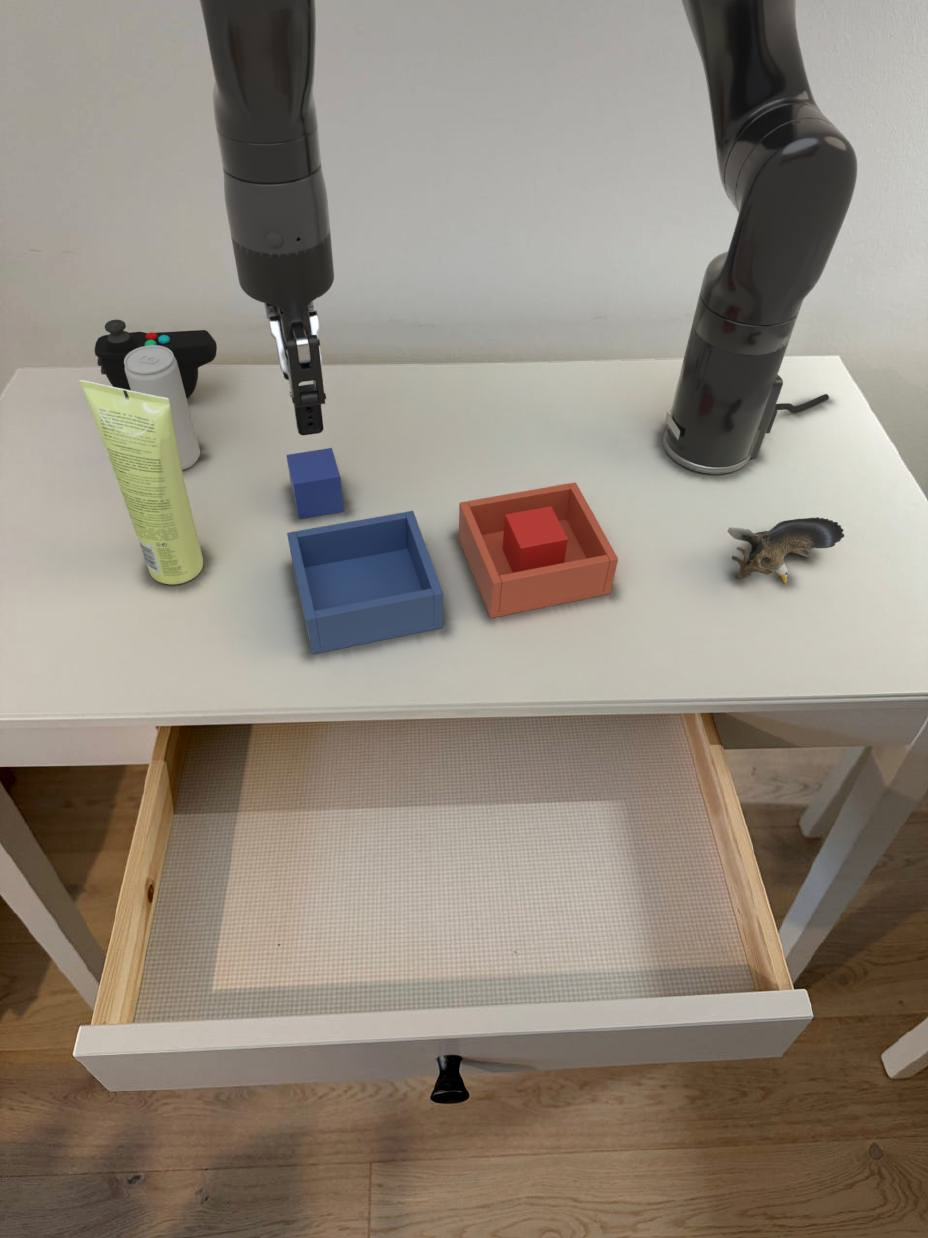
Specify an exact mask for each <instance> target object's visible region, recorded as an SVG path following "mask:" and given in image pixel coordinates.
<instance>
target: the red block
mask: <svg viewBox="0 0 928 1238" xmlns="http://www.w3.org/2000/svg"><path fill="white" fill-rule="evenodd" d="M567 542H568V538H567V536H566V534H565V532H564V530H563V528H562V526H561V524H560V522H559V521H558V519H557V517H556V515H555V513H554V511H553V509H552V507H551V506H550V507H544V508H539V509H533V510H528V511H522V512H517V513H511V514H506V515H505V524H504V536H503V551H504V554H505V556H506V558H507V561H508V563H509V565H510V567H511V570H512V572H513V573H515V572H520V571H525V570H530V569H535V568H540V567H546V566H551V565H556V564H561V563H564V561H565V555H566V549H567Z"/></svg>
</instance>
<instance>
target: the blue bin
mask: <svg viewBox="0 0 928 1238" xmlns="http://www.w3.org/2000/svg"><path fill="white" fill-rule="evenodd" d="M286 535H287V541H288V547H289V552H290V557H291V563H292V569H293V573H294V577H295V582H296V583H295V584H296V587H297V590H298V596H299V601H300V605H301V610H302V613H303V614H302V615H303V618H304V622H305V627H306V631H307V635H308V636H307V637H308V642H309V646H310V651H311V654H312V655H315V654H320V653H327V652H330V651H334V650H339V649H346V648H349V647H354V646H359V645H360V646H361V645H365V644H371V643H375V642H379V641H384V640H390V639H393V638H398V637H399V638H400V637H403V636H409V635H414V634H419V633H423V632H429V631H433V630H438V629H443V627H444V626H443V623H444V592H443V588H442V587H441V584H440V582H439V578H438V576H437V572H436V569H435V568H434V565H433V561H432V559H431V556H430V554H429V551H428V548H427V545H426V542H425V540H424V536H423V534H422V531H421V529H420V525H419V523H418V520H417V517H416V515H415V512H414V510H410V511H408V510H407V511H404V512H398V513H392V514H387V515H381V516H375V517H369V518H363V519H358V520H353V521H352V520H351V521H346V522H340V523H335V524H330V525H324V526H317V527H312V528H306V529H300V530H296V531H289V532H286Z"/></svg>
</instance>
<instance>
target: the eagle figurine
mask: <svg viewBox="0 0 928 1238" xmlns="http://www.w3.org/2000/svg"><path fill="white" fill-rule="evenodd" d="M844 530H845V529H843V528H842V525H840V524H839V522H837V521H834V520H832V519H829V518H824V517H818V516H817V517H807V518H794V519H788V520H782V521H779V522H778V523H777V524H776V525H774V526H773V527H772V528H771V529H769V530H764V531H758V532H753V531H751V529H749V528H743V527H734V526H733V527H731V526H730V527H728V528H727V533H728V534H729V535H730V536H731V537H732V538H733V539H735V540H738V541H741V542H747V543H748V544H749V545H750V546H751V549H750V551H749V550H748V549H746V548H744V547H741V546H738V547H736V550H738V551H740V552H741V554H742V557H743V558H742V559H740V557H738V556H736V555H732V556H731V560H732V561H734V562H736V563H738V565H739V566H740V568H739V571H738V572H737V573H736V574H735V579H741V578H747V577H748V576H751V575H752V574H753V573H754V572H755V573H761V574H764V575H767V576H769V575H771V574H774V573H775V572H776V573H777V574H778V576H779V577H780V578H781V579H782V581H783V583H784V584H785V583H787V581H788V576H789V570H788V568H787V565H786V563H785V561H784V559H785V557H786V555H788V554H789V553H790V554H796V555H798V556H803V557H804V558H811V551H809V550H811V549H819V550H820V549H829V548H833V547H835V545H836V544H837V543H839V542H841V541H842V539H843V538H845V534H844V533H843V532H844ZM763 562H764V563H765V564H766V565H768V567H770V568H768V567H763V566H762V563H763Z"/></svg>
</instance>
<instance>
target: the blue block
mask: <svg viewBox="0 0 928 1238" xmlns="http://www.w3.org/2000/svg"><path fill="white" fill-rule="evenodd" d="M285 458H286V461H287V468H288V474H289V480H290V486H291V487H290V488H291V491H292V496H293V500H294V504H295V508H296V513H297V516H298V519H299V520H302V519H308V518H313V517H319V516H325V515H331V514H336V513H343V512H345V505H344V498H343V488H342V479H341V474H340V471H339V466H338V463H337V460H336V457H335V454H334V450H333V447H328V448H327V447H326V448H321V449H314V450H309V451H303V452H296V453H290V454H289V453H288V454H286V457H285Z"/></svg>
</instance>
